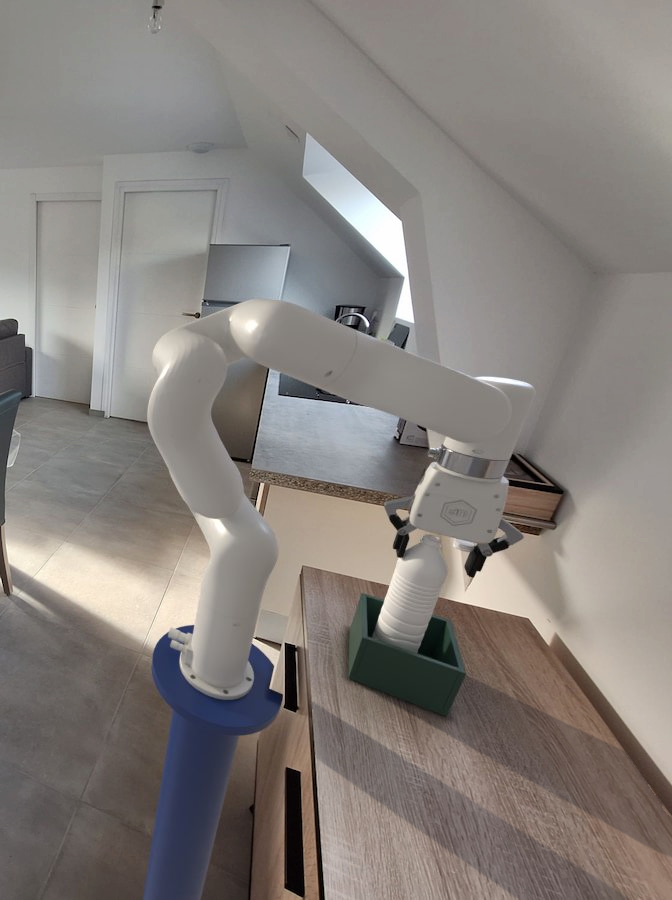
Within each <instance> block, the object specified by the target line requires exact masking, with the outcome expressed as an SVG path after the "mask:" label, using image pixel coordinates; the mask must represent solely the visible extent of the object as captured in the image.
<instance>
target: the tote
mask: <svg viewBox="0 0 672 900" xmlns="http://www.w3.org/2000/svg"><path fill="white" fill-rule="evenodd" d="M384 600H385V599H384V598H380V597H377V596H375V595H370V594H367V593H364V592H361V593H360V597H359V600H358V602H357V606H356V609H355V611H354V615H353V618H352V620H351V624H350V627H349V635H348V637H349V638H348V639H349V641H348V676H347V677H348V679H349V680H351V681H354V682H356V683H359V684H362V685H365V686H368V687H370V688H372V689H375V690H378V691H379V692H383V693H385V694H388V695H390V696H393V697H394V698H398V699H400V700H403V701H405V702H408V703H411V704H414V705H415V706H419V707H420V708H423V709H426V710H429V711H431V712H434V713H436V714H439V715H442V716H444V717H448V715H449V713H450V711H451V709H452V706H453V704H454V701H455V699H456V698H457V695H458V693H459V691H460V689H461V686H462V684H463V682H464V680H465V677H466V675H467V671H466V668H465V665H464V661H463V657H462V654H461V650H460V647H459V643H458V640H457V636H456V632H455V628H454V626H453V622H452V620H451V619H447V618H444V617H441V616H438V615H434V614H432V616H431V619H430V621H429V622H428V626H427V629H426V631H425V633H424V637H423V639H422V641H421V645H420V647H419V649H418V652H417V653H414V652H411V651H408V650H405V649H403V648H400V647H397V646H394V645H391V644H388V643H385V642H382V641H379V640H377V639H374V638H372V635H373V633H374V631H375V627H376V624H377V621H378V618H379V615H380V613H381V609H382V606H383V604H384Z"/></svg>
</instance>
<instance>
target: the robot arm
mask: <svg viewBox="0 0 672 900" xmlns="http://www.w3.org/2000/svg"><path fill="white" fill-rule="evenodd" d="M151 355H152V356H151V363H152V367H153V370H154V372H155V374H156V375H157V377H158V378H157V379H156V381H155V384H154V385H153V388H152V390H151V393H150V396H149V400H148V405H147V410H146V413H147V414H146V419H147V426H148V430H149V433H150V435H151V438H152V440H153V442H154V445H155V446H156V448H157V450H158V452H159V453H160V455H161V457H162V459H163V461H164V463H165V465H166V467H167V469H168V472H169V476H170V479H171V480H172V482H173V484H174V486H175V487H176V490H177V492H178V494H179V495H180V496H181V499H182V500H183V501H184V502H185V504H186V505H187V507H188V508H189V510H190V512H191V514H192V515H193V517H194V519H195V521H196V522H197V524H198V526H199V529H200V531H201V532H202V534H203V536H204V538H205V541H206V543H207V545H208V547H209V550H210V551H209V552H210V557H209V561H208V564H207V566H206V567H205V569H204V571H203V574H202V578H201V582H200V588H199V595H198V601H197V607H196V613H195V619H194V624H193V625H194V631H193V634H191V633H187V634H185V633H183V632H180V631H179V630H177V629H176V628H174V627H170V628H169V631H168V632H169V633H168V632H167V633H168V638H171V639H173V640H172V641H171V644H170V647H171V648H173V649H176V650H179V651H181V655H180V662H179V663H180V668H181V671H182V674H183V675H184V677H185V678H186V680H187V681H188V682H189V683H190V684H191V685H192V686H193V687H194V688H195V689H197V690H198V691H200V692H202V693H203V694H206V695H208V696H210V697H213V698H216V699H222V700H234V699H239V698H241V697H243V696H245V695H246V694H248V693H249V691H250V690H251V688H252V685H253V681H254V672H253V669H252V666H251V665H250V663H249V661H248V658H249V654H250V649H251V645H252V644H253V640H254V635H255V631H256V627H257V622H258V619H259V614H260V611H261V610H260V609H261V604H262V600H263V597H264V591H265V589H266V585H267V583H268V580H269V578H270V577H271V574H272V572H273V570H274V569H275V566H276V564H277V562H278V558H279V553H280V551H279V550H280V549H279V543H278V539H277V537H276V534H275V532H274V530H273V528H272V527H271V525H270V524H269V523H268V522H267V520H266V519H265V518H264V517H263V515H262V514H261V513H260V511H259V510H258V509H257V508H256V507H255V506H254V505H253V503H252V502H251V500H249V498H248V497H247V495H246V493H245V486H244V482H243V478H242V475H241V472H240V470H239V468H238V466H237V465H236V463H235V462H234V460H232V458H231V456H230V454H229V452H228V451H227V449H226V447H225V444H224V443H223V441H222V440H221V437H220V435H219V433H218V430H217V429H216V426H215V424H214V422H213V418H212V408H213V405H214V402H215V400H216V398H217V396H218V394H219V393H220V391H221V389H222V388H223V386H224V384H225V381H226V379H227V375H228V368H229V366H232V365H233V364H236V363H238V362H241V361H243V360H245V359H248V360H250V361H253V362H254V363H256V364H258V365H261V366H262V367H266V368H267V369H269V370H272V371H275V372H277V373H280V374H281V375H282V374H283V375H285V376H287V377H290V378H292V379H295V380H298V381H300V382H303V383H305V384H307V385H310V386H313V387H315V388H317V389H319V390H321V391H325V392H326V393H329V394H332V395H335V396H336V397H339V398H342V399H345V400H346V401H349V402H351V403H354V404H357V405H361V406H364V407H367V408H371V409H375V410H377V411H379V412H380V411H381V412H382V413H386V414H389V415H391V416H394V417H397V418H400V419H402V420H405V421H407V422H410V423H412V424H415V425H416V426H420V427H422V428H425V429H427V430H429V431H432V432H435V433H437V434H439V435H441V436H444V437H445V438H444V440H443V443H441V445H440V446H439V447H438V448H437V447H435V448H432V447H429V448H428V450H427V453H426V456H427V457H429V458H432V459H435V461H432V462H431V463H430V464H429V466H428V467H427V469H426V470H425V472H424V474H423V475H422V477H421V479H420V480H419V483H418V485H417V487H416V489H415V491H414V494H413V495H411V496H405V497H401V498H396V499H390V500H385V501H384V502H383V508H384V510H385V513H386V515H387V518H388V519H389V522H390V523H391V525H392V526H393V528H394V529H395V530H396V535H395V537H394V540H393V543H392V549H393V550H395V552H396V558H397V559H398V558H403V556H404V553H405V550H407V547H408V544H409V541H410V533H412V532H413V531H415V530H421V531H424V532H428V533H432V534H436V535H440V536H444V537H448V538H453V539H460V540H464V541H469V542H472V543H473V544H476V545H475V547H474V550H473V552H468V556H467V558H466V560H465V563H464V566H463V568H464V571H465V573H466V575H467V576H468V578H474V579H475V576H476V574H477V572H478V573H481V572H482V570H483V567H484V565H485V563H486V561H487V558H489V557H492V556H493V555H494V554H496V553H499V552H502V551H505V550H508V549H509V548H510V547H511V546H514V545H515V544H517V543H518V542H520V541H522V540H523V539H525V536H524V535H523V533H522V531H520V530H519V529H518V528H517V527H515V526H514V525H513V524H511V523H510V522H509V521H507V520H506V519H505V518H504V517H503V514H504V511H505V507H506V503H507V498H508V494H509V493H508V492H509V485H510V481H509V479H507V478H506V477H505V476H504V474H505V472H506V470H507V467H508V465H509V463H510V460H511V458H512V455H513V453H514V450H515V447H516V446H517V442H518V440H519V438H520V435H521V433H522V430H523V428H524V426H525V423H526V421H527V419H528V416H529V414H530V411H531V409H532V407H533V405H534V402H535V399H536V397H537V390H536V388H535V387H534V386H533V385H532V384H531V383H528V382H525V381H522V380H518V379H514V378H507V377H499V376H474V377H473V376H471V375H469V374H467V373H464V372H461V371H459V370H456V369H453V368H451V367H449V366H446V365H443V364H441V363H438V362H436V361H433V360H431V359H428V358H425V357H423V356H420V355H417V354H415V353H413V352H411V351H408V350H406V349H403V348H401V347H400V346H397V345H395V344H392V343H389V342H387V341H384V340H382V339H379V338H377V337H374V336H371V335H370V334H367V333H364V332H362V331H360V330H357V329H354V328H352V327H350V326H347V325H345V324H343V323H341V322H339V321H336V320H333V319H332V318H329V317H326V316H324V315H322V314H320V313H317V312H315V311H312V310H311V309H307V308H305V307H304V306H301V305H298V304H296V303H293V302H289V301H285V300H279V299H268V298H259V297H258V298H251V299H248V300H244V301H242V302H239V303H237V304H234V305H232V306H229V307H225V308H224V309H221V310H219V311H216V312H214V313H211V314H209V315H206V316H204V317H201V318H197V319H195V320H193V321H191V322H188V323H186V324H182V325H180V326H178V327H175V328H173V329H170V330H169V331H167V332H166V333H165V334H163V335H162V336H161V337H160V338H159V339H158V340H157V342H156V344H155V345H154V347H153V351H152V354H151ZM407 508H408V511H407V513H408V516H407V517H405V518H403V519H402V518H401V517H400V515H398V513H397V510H401V509H407ZM498 530H501V531H502V532H503V533H504V534H503V535H502V536H500V537H496V535H497V532H498ZM470 551H472V550H470ZM174 640H176V641H174ZM177 641H179V642H182V643H184V645H183V644H180V643H179V642H177Z"/></svg>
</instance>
